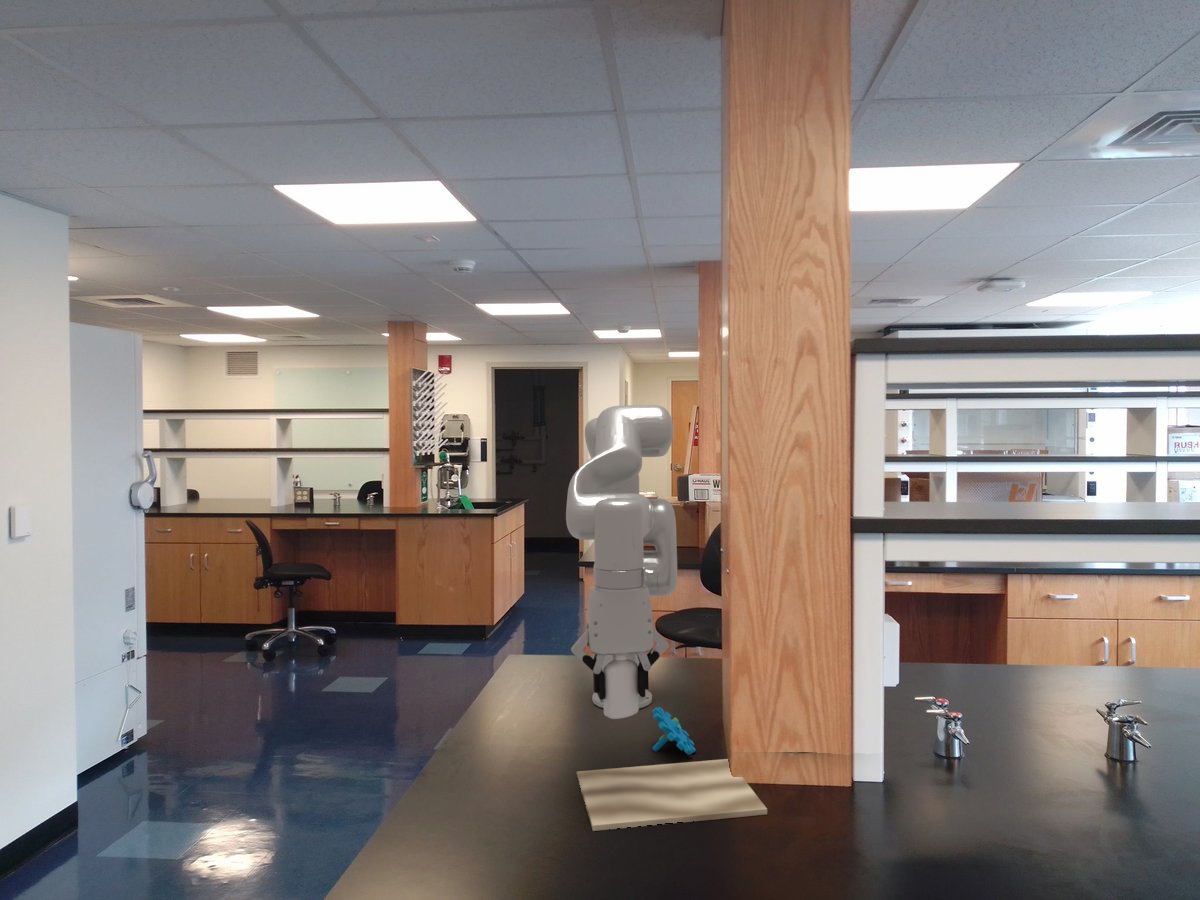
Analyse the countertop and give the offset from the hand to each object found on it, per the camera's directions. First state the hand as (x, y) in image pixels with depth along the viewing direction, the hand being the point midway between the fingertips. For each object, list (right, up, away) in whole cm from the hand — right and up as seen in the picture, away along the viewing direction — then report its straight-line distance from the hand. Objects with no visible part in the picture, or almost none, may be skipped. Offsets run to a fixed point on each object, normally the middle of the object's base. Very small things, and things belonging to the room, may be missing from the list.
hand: (621, 694), depth 121 cm
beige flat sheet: (+7, -16, +2) cm, 18 cm away
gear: (+10, -16, +18) cm, 26 cm away
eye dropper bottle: (0, -3, 0) cm, 3 cm away
